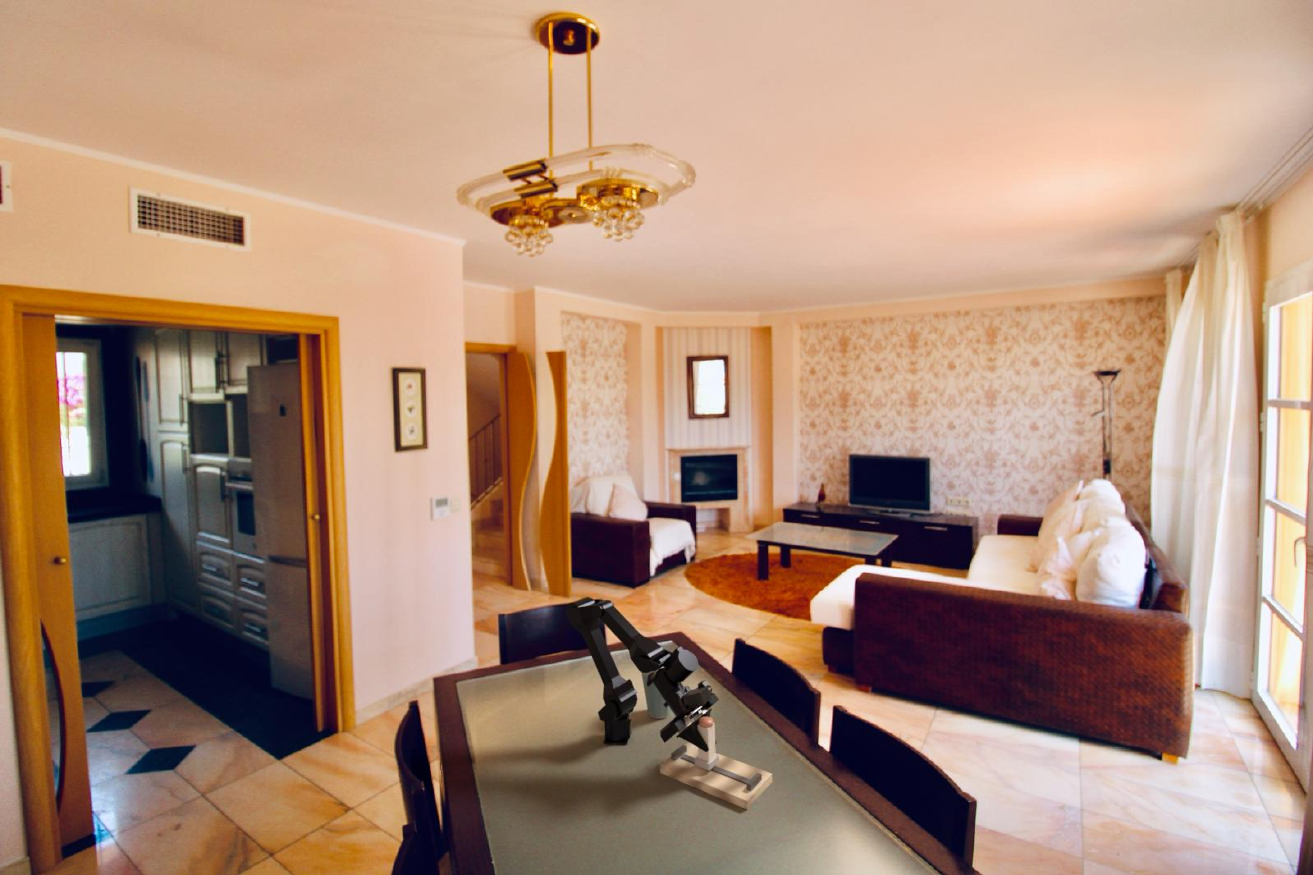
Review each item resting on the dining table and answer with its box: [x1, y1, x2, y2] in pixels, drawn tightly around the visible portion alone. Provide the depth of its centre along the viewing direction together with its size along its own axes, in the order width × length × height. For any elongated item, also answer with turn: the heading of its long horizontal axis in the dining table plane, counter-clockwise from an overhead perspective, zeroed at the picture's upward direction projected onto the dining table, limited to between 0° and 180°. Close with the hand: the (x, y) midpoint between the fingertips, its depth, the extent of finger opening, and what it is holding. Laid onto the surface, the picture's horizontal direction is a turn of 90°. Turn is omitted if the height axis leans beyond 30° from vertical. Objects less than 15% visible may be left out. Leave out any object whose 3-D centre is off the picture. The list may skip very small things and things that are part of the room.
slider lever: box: [695, 716, 719, 771], centre depth 149 cm, size 4×4×11 cm
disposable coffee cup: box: [640, 667, 672, 720], centre depth 179 cm, size 11×11×15 cm
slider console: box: [659, 742, 773, 810], centre depth 148 cm, size 24×12×3 cm, turn 53°
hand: (711, 747), depth 149 cm, fingers closed on slider lever, 3 cm apart
